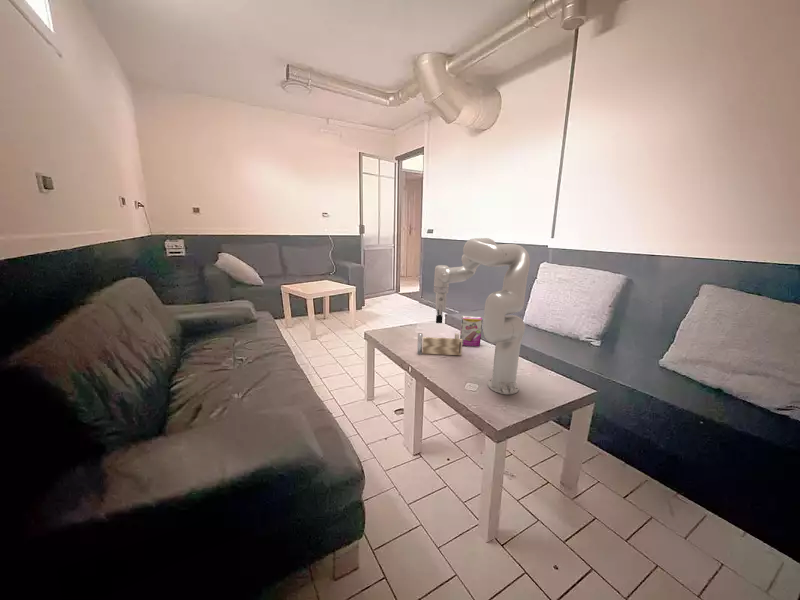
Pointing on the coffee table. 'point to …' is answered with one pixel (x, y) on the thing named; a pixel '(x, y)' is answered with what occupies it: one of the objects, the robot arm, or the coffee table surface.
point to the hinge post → (419, 344)
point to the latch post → (456, 335)
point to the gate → (442, 346)
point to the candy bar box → (471, 330)
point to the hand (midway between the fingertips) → (438, 322)
